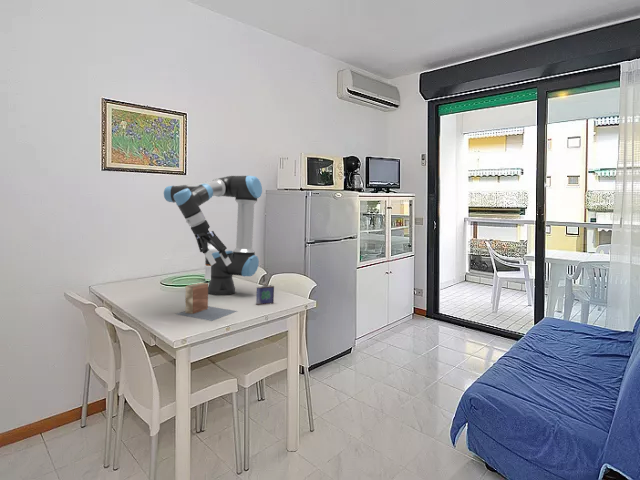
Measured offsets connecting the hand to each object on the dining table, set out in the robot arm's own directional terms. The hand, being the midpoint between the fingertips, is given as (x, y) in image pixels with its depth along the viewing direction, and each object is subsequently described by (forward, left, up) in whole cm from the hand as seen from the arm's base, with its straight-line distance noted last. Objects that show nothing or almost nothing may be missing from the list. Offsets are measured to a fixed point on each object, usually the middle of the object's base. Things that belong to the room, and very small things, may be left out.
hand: (221, 264), depth 179 cm
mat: (-3, -6, -22) cm, 23 cm away
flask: (+9, +23, -22) cm, 33 cm away
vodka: (-50, +54, -22) cm, 77 cm away
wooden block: (-9, -6, -21) cm, 24 cm away
